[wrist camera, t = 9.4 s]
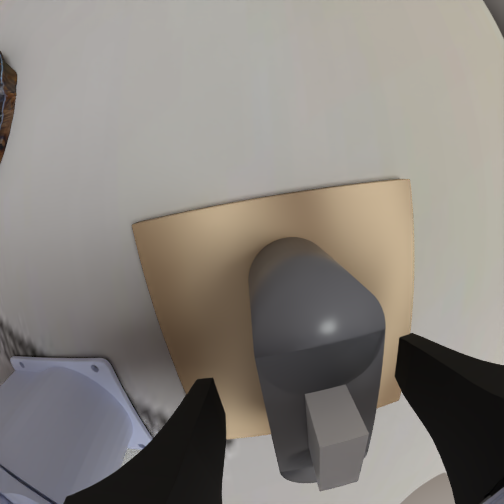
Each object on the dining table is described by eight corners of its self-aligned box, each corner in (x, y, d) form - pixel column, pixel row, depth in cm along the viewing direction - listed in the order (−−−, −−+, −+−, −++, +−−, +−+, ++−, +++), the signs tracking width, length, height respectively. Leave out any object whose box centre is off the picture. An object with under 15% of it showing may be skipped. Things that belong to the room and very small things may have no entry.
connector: (273, 414, 13) (289, 524, 7) (241, 245, 11) (242, 343, 4) (335, 401, 13) (375, 503, 7) (327, 230, 11) (434, 297, 4)
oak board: (208, 431, 15) (207, 440, 14) (138, 222, 11) (131, 224, 11) (394, 392, 15) (399, 400, 14) (400, 178, 11) (410, 179, 11)
